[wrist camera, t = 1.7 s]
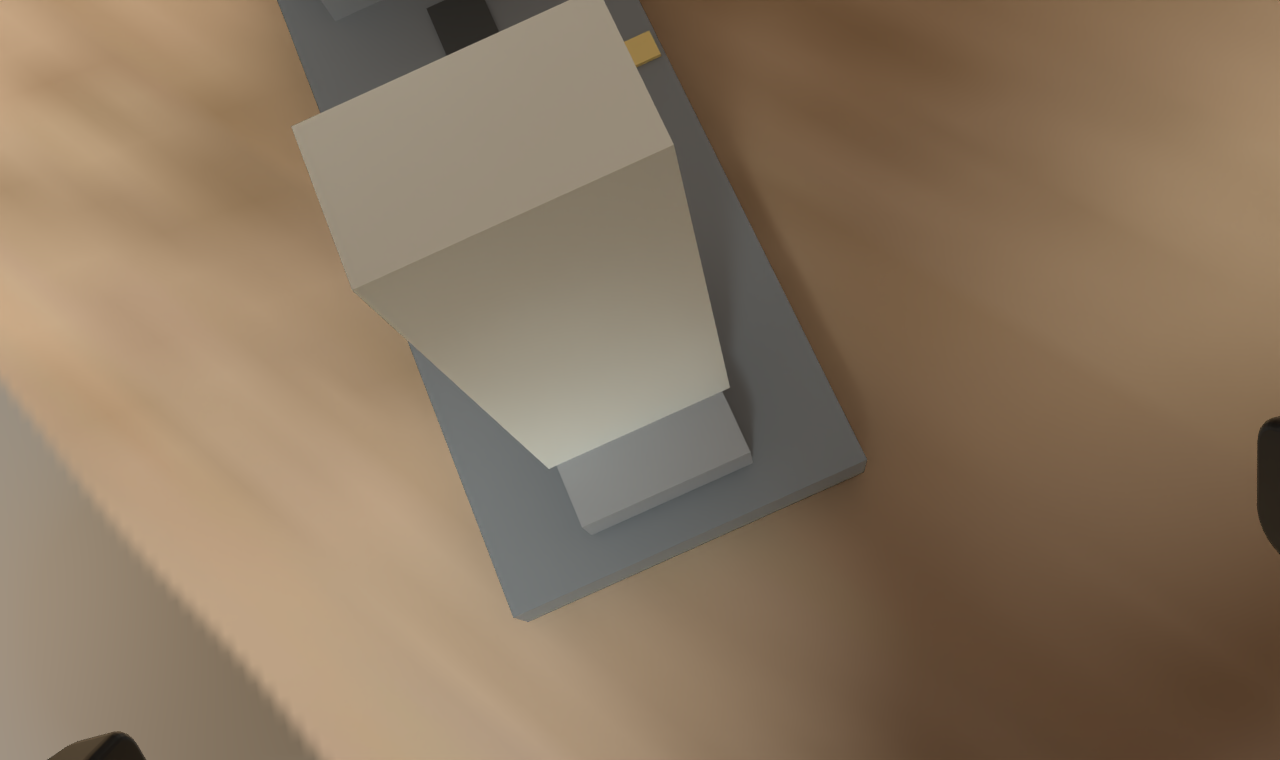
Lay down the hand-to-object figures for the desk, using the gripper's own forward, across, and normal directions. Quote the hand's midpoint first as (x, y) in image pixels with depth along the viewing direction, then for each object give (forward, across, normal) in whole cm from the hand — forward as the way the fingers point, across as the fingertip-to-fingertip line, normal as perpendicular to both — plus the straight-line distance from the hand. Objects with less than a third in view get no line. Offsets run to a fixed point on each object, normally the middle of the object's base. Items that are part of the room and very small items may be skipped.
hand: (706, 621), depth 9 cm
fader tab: (+12, 0, -4) cm, 13 cm away
